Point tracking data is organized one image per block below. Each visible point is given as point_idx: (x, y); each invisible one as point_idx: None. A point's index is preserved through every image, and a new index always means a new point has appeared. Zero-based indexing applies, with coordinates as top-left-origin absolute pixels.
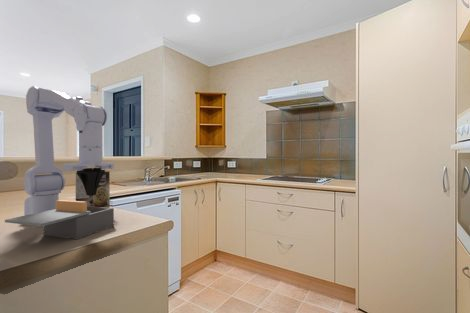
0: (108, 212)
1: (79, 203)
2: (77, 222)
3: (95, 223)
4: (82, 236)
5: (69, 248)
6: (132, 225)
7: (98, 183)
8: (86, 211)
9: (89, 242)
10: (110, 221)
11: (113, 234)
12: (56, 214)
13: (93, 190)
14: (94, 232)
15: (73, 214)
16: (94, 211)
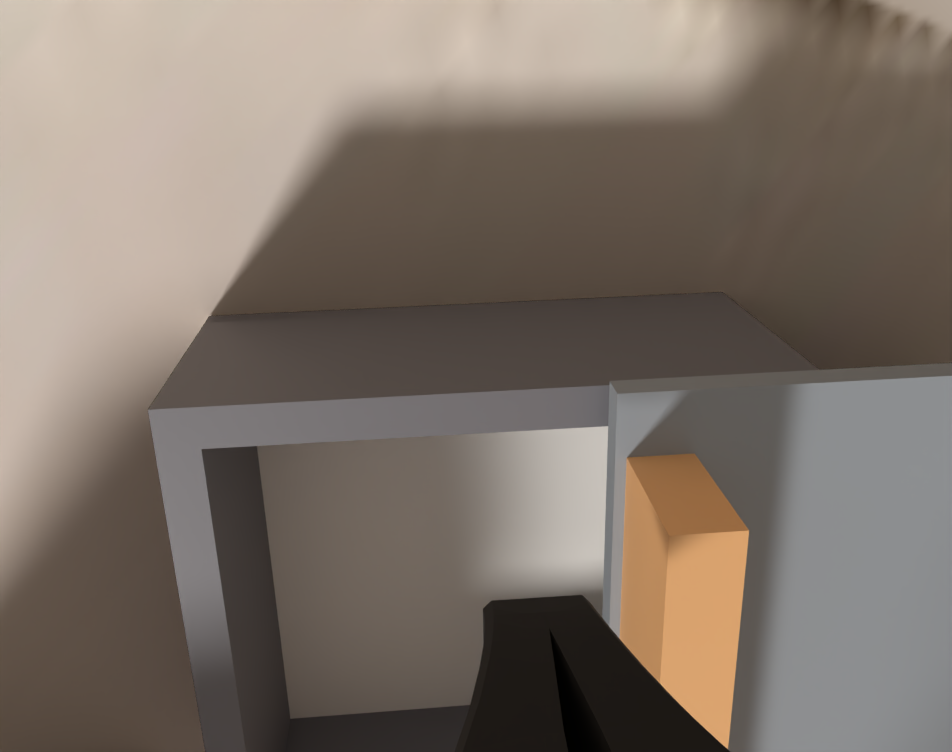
0: (266, 387)
1: (734, 587)
2: (783, 353)
3: (498, 339)
4: (656, 298)
5: (943, 115)
6: (71, 84)
7: (489, 750)
8: (650, 440)
9: (765, 68)
10: (253, 336)
11: (471, 24)
12: (876, 643)
13: (593, 643)
14: (504, 302)
15: (842, 444)
16: (250, 674)
